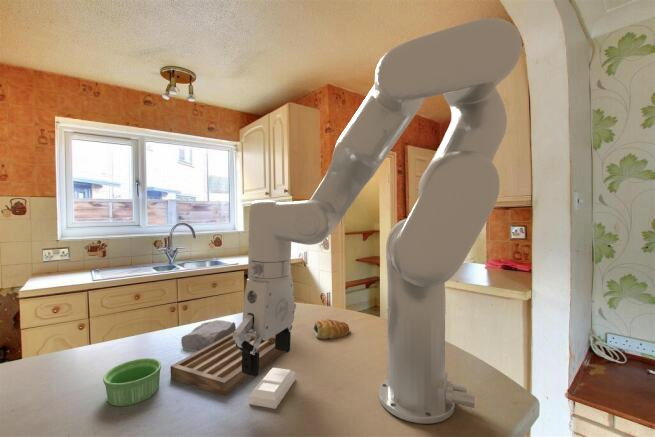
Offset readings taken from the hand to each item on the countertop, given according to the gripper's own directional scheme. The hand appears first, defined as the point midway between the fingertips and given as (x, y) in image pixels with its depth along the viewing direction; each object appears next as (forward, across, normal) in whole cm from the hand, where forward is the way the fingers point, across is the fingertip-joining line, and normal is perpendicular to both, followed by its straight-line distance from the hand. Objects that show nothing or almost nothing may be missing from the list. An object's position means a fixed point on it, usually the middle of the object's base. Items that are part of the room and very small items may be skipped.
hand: (267, 361), depth 57 cm
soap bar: (+6, 0, -1) cm, 6 cm away
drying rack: (+6, +5, +13) cm, 15 cm away
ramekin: (+7, -11, +22) cm, 25 cm away
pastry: (+6, +28, 0) cm, 28 cm away
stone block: (+7, +12, +27) cm, 30 cm away
